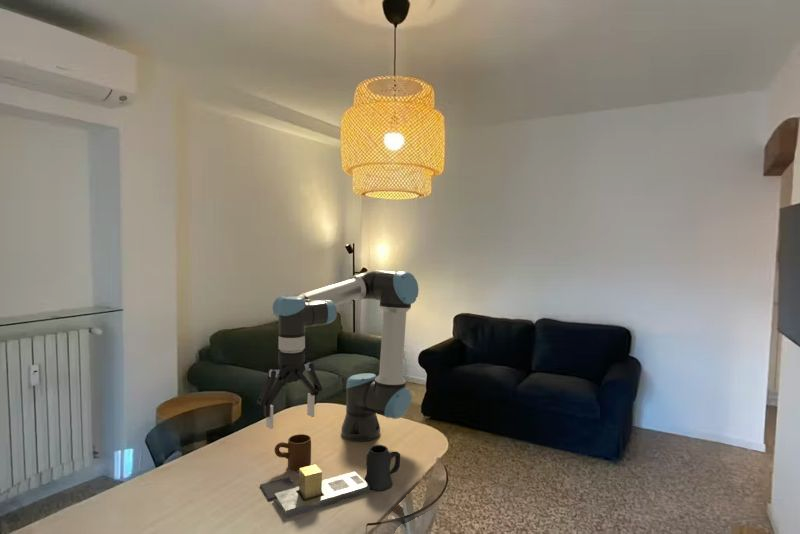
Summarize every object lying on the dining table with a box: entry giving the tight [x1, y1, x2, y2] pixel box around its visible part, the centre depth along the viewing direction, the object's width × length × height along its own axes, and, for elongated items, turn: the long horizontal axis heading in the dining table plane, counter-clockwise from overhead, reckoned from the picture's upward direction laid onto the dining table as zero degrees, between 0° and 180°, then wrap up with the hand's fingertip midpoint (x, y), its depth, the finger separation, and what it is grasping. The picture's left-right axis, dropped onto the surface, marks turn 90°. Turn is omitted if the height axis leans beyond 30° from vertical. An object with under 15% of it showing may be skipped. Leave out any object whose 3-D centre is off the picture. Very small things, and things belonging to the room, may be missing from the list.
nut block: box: [298, 464, 323, 501], centre depth 136 cm, size 5×5×9 cm
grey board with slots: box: [274, 471, 371, 519], centre depth 138 cm, size 26×10×2 cm, turn 122°
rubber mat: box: [259, 476, 297, 501], centre depth 141 cm, size 9×9×1 cm
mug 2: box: [363, 444, 401, 493], centre depth 146 cm, size 12×9×11 cm
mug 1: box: [274, 433, 312, 472], centre depth 154 cm, size 12×8×9 cm, turn 116°
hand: (290, 421), depth 137 cm, fingers open, 13 cm apart
